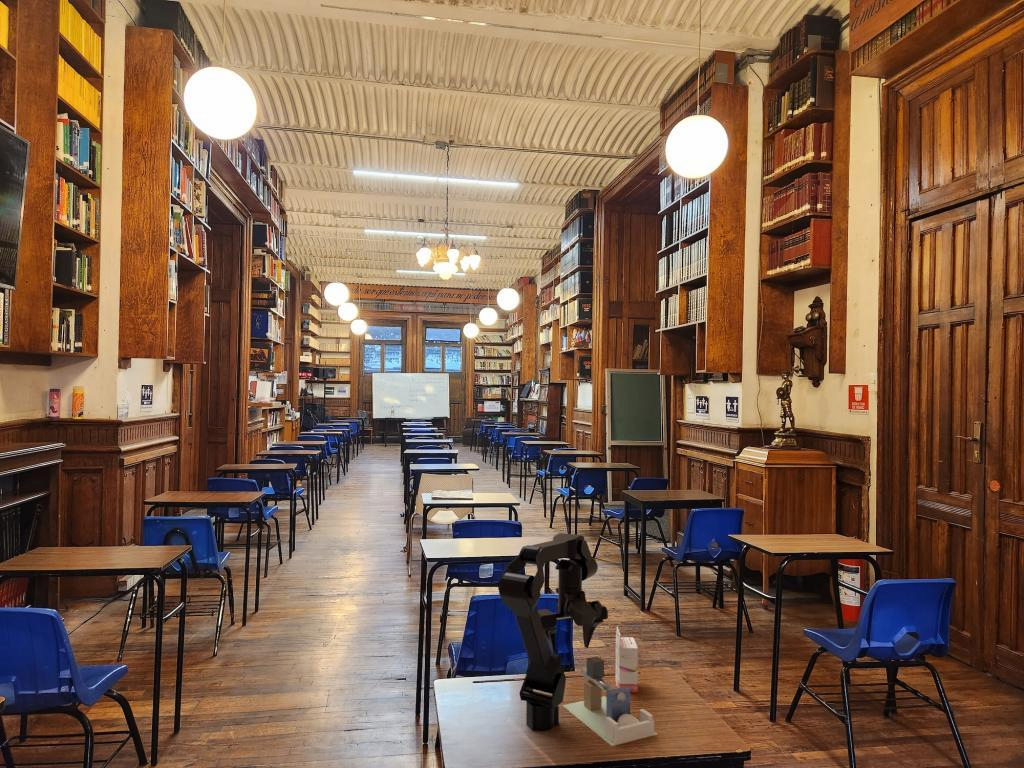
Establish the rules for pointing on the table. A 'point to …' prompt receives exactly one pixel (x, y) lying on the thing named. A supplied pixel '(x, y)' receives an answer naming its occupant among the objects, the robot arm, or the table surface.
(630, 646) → the ink cartridge box
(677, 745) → the table surface
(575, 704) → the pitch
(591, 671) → the player rod
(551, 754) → the table surface
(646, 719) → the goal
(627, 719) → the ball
